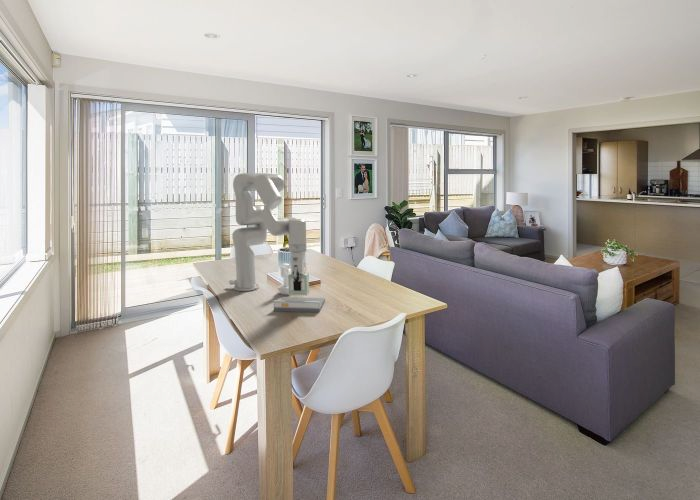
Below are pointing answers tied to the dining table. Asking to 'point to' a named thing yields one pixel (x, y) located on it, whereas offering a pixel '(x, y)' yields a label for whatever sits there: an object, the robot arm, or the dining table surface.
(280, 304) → the grey flat box
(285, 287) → the figurine
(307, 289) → the tea box
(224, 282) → the dining table surface
